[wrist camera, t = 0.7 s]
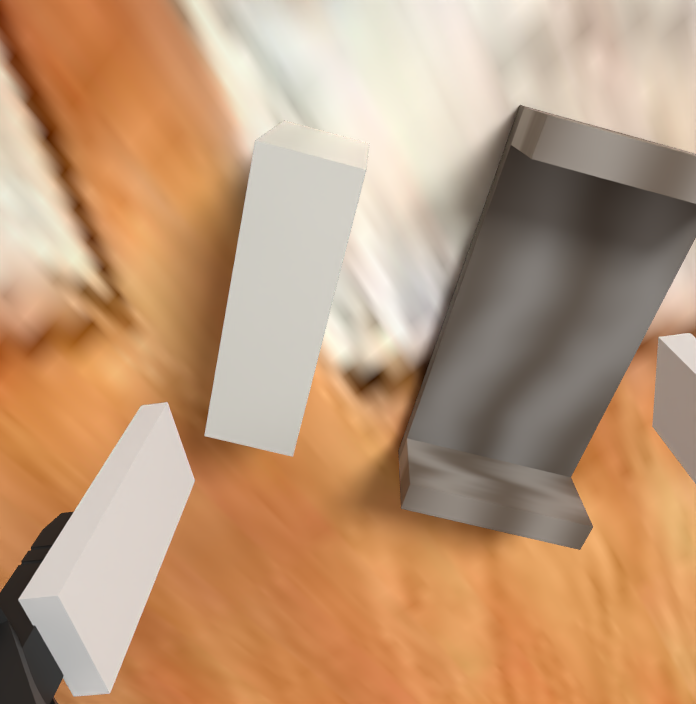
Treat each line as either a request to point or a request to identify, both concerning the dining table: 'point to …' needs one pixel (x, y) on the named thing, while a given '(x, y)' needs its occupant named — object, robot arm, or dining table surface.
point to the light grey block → (283, 282)
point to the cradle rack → (545, 324)
